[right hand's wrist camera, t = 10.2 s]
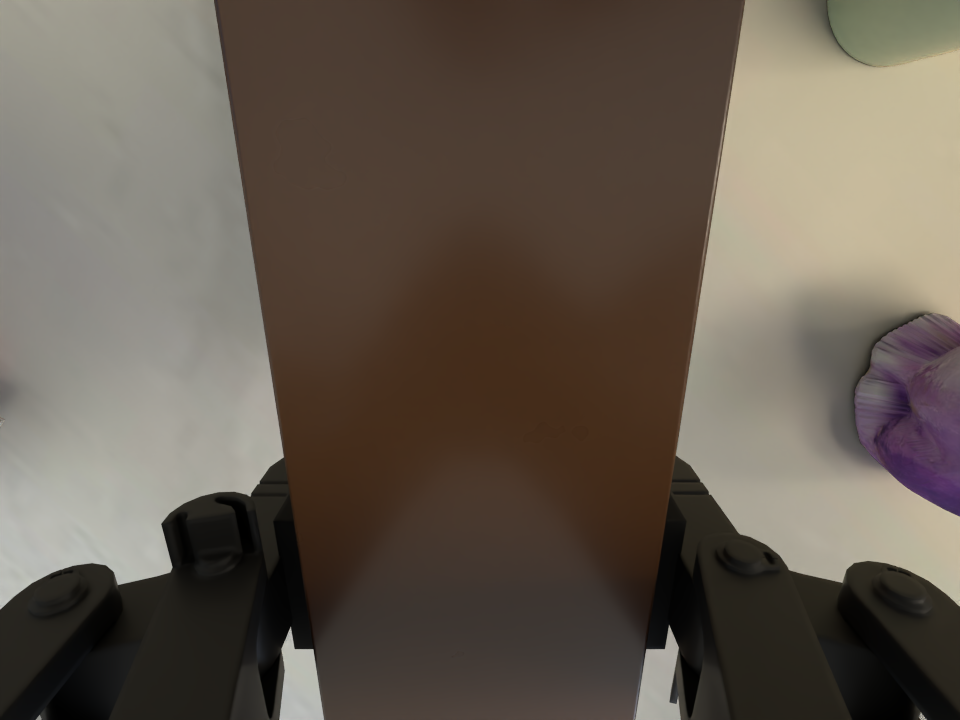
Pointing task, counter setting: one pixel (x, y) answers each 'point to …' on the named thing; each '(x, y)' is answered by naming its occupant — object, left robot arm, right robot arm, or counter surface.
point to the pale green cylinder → (895, 29)
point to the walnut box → (479, 328)
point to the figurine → (915, 408)
